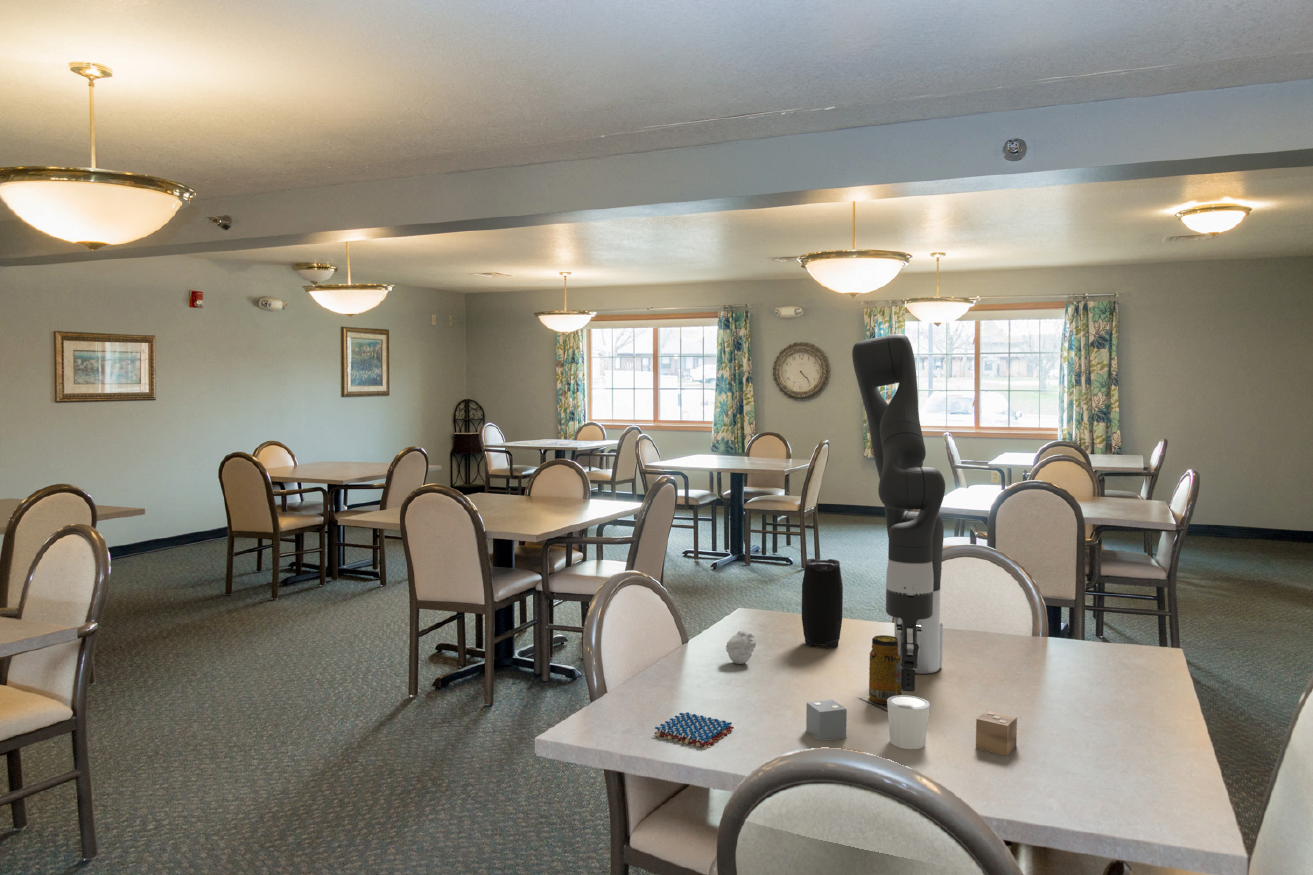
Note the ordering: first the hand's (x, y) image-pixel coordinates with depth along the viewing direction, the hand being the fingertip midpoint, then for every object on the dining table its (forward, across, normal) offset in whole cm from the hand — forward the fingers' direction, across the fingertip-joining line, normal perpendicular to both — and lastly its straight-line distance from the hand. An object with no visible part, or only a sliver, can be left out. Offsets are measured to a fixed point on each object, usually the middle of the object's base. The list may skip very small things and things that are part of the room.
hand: (907, 689), depth 150 cm
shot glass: (+9, 0, 0) cm, 9 cm away
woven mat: (+10, +4, -35) cm, 37 cm away
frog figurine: (+9, -38, -33) cm, 51 cm away
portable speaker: (+9, -57, -17) cm, 60 cm away
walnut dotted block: (+9, -2, +14) cm, 17 cm away
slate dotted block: (+9, -1, -13) cm, 16 cm away
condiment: (+9, -20, -3) cm, 22 cm away
